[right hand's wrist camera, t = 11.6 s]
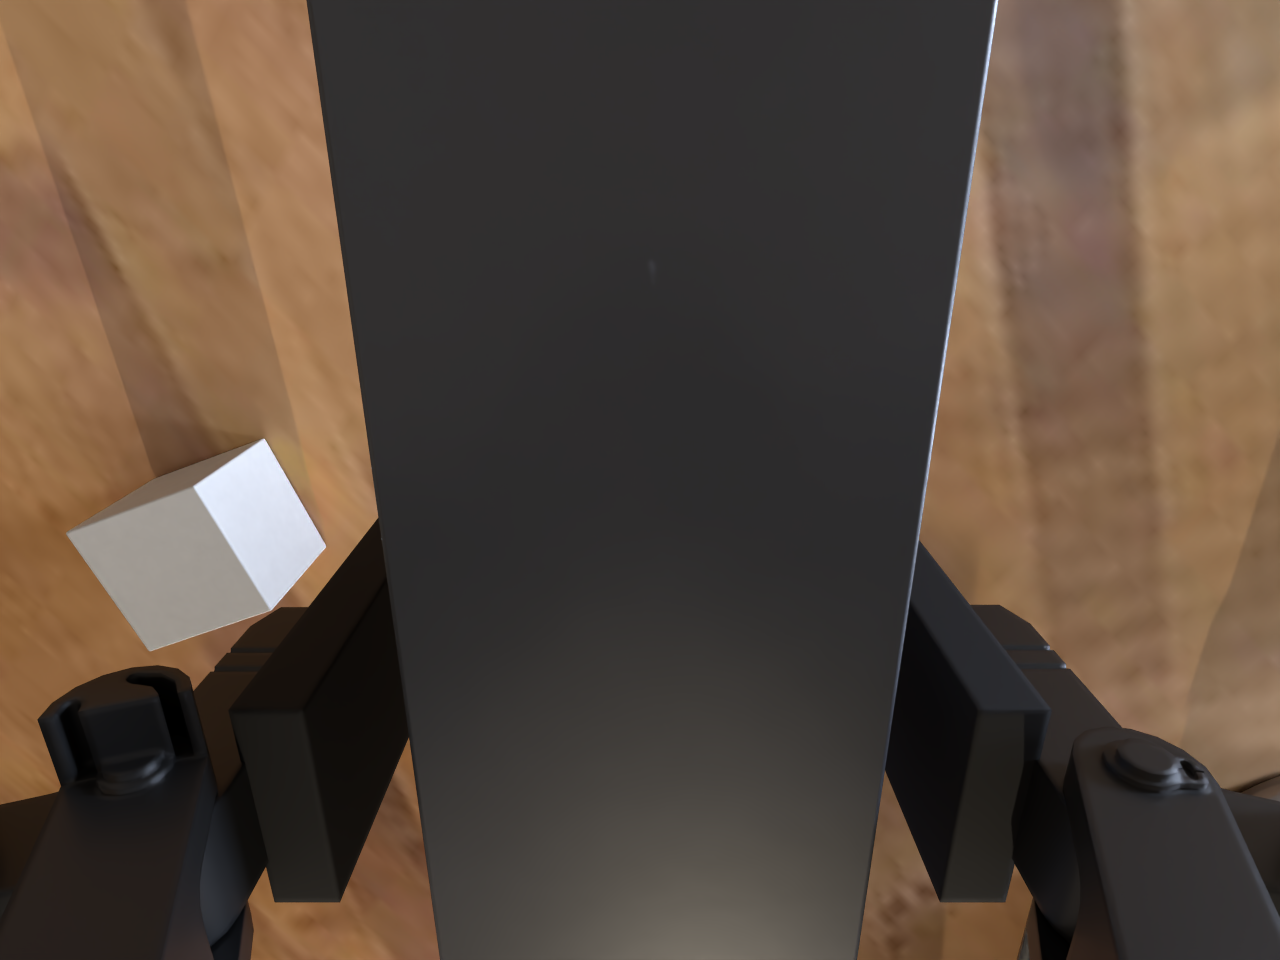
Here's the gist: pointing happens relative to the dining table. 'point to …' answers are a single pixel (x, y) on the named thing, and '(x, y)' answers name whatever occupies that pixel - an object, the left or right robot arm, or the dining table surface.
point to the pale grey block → (201, 545)
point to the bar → (650, 440)
